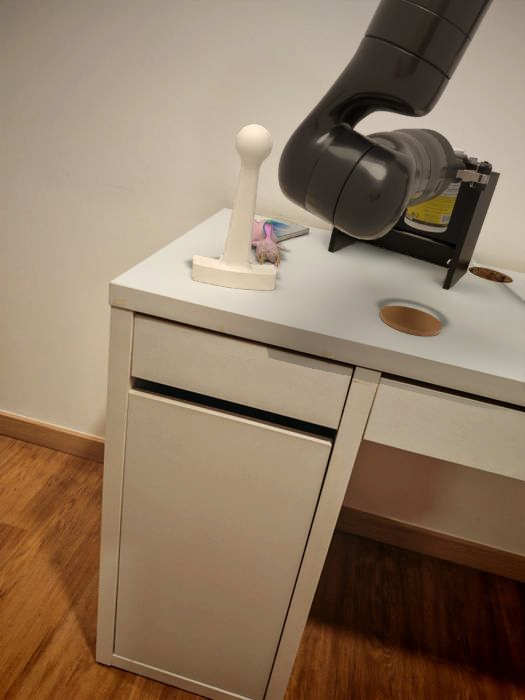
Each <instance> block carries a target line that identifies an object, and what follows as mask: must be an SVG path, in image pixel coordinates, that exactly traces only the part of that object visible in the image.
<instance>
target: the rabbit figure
mask: <svg viewBox="0 0 525 700" xmlns="http://www.w3.org/2000/svg"><path fill="white" fill-rule="evenodd" d="M270 220H271V219H269V218H268V219H260V220H259V221H258V220H257V219H256V218H254V225H253V234H252V244H251V246H254V247H255V248H256V249H255V257H256V260H258V263H259V265H262V263H264V264H266V262H265V261H266V260H267V261H269V262H270V263H274V264H273V265H276V268H278V267H279V266H281V261H280V251H279V249H280V250H282V251H285V250H287V249H286V248H287V247H286V246H283V245H281V244H279V243H278V242H279V241H278V238H277V237H276V235H275V233H274V231H273V226H272V223H271V221H270ZM258 222H260V223H258ZM278 265H279V266H278Z"/></svg>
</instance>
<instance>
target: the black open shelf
mask: <svg viewBox="0 0 525 700" xmlns="http://www.w3.org/2000/svg"><path fill="white" fill-rule="evenodd" d="M500 176H501V173H500V172H497V171H493V170H492V171H491V174H490V177H489V180H488V183H487V186H486V189H485V191H481V192H479V191H476V189H474V187H470V183H471V181H467V182H464V181H461V184H460V187H459V191H458V194H457V197H456V200H455V204H454V207H453V210H452V213H451V217H450V220H449V223H448V226H447V229H446V231H444V232H430V231H424V230H420V229H417V228H414V227H412V226H410V225H408V224H407V223H406V222H405V215H406V211H407V208H406V209H405V211H404V212H403V214H402V216H401V217H400V219H399V220H398V222H397V223H396V224H395V226H394V227H393V228H392V229H391V230H390V231H389V232H388V233H386V234H385V235H384V236H382V237H380V238H377V239H372V240H365V239H359V238H355V237H353V236H350V235H348V234H346V233H344V232H343V231H341V230H339V229H337V228H336V227H334V226H332V230H331V235H330V239H329V243H328V248H327V249H328V250H327V252H330V253H335V252H337V251H339V250H342V249H345V248H346V247H348V246H351V245H353V244H355V243H357V242H361V243H365V244H367V245H370V246H374V247H377V248H380V249H384V250H387V251H391V252H392V253H393V252H394V253H397V254H400V255H403V256H407V257H410V258H412V259H416V260H419V261H422V262H425V263H429V264H433V265H435V266H437V267H442V268H444V269H448V270H447V273H446V276H445V279H444V282H443V284H442V289H444V290H447V291H448V290H449V291H450V289H451V288H452V287H453V286H454V285H456V284H457V282H458V281H459V280H460V279H462V278H463V277H464V276H465V275H466V274H467V273H468V269H469V266H470V265H471V261H472V258H473V255H474V252H475V249H476V246H477V244H478V240H479V237H480V234H481V231H482V228H483V226H484V222H485V220H486V218H487V214H488V211H489V208H490V205H491V202H492V199H493V197H494V193H495V191H496V187H497V185H498V182H499V179H500Z"/></svg>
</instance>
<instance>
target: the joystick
mask: <svg viewBox="0 0 525 700" xmlns="http://www.w3.org/2000/svg"><path fill="white" fill-rule="evenodd" d="M273 145H274V144H273V138H272V135H271V133H270V132H269V130H268V129H267V128H265V127H264V126H262V125H261V124H256V123H252V124H248V125H245V126H243V127H242V128H241V129H240V130H239V131H238V133H237V136H236V138H235V149H236V152H237V154H238V156H239V158H240V163H241V164H240V171H239V176H238V181H237V186H236V190H235V196H234V199H233V200H234V201H233V206H232V210H231V215H230V221H229V225H228V230H227V236H226V241H225V245H224V251H223V253H221V254H220V255H219V258H212V257H206V256H203V255H199V254H198V255H197V254H195V255H193V258H192V266H191V275H190V276H191V277H190V279H191V280H192V281H195V282H200V283H203V284H207V285H211V286H212V285H213V286H218V287H225V288H231V289H239V290H250V291H274V290H275V286H276V281H277V276H278V273H277V267H276V266H274V265H272V264H261V265H260V264H254V263H251V251H252V245H251V244H252V234H253V225H254V219H255V214H256V205H257V197H258V186H259V177H260V169H261V166H262V164H263V163H264V162H265V161H266V160H267V159H268V157H270V155H271V153H272V150H273Z"/></svg>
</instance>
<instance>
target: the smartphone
mask: <svg viewBox="0 0 525 700" xmlns="http://www.w3.org/2000/svg"><path fill="white" fill-rule="evenodd" d="M269 220H270V221H271V223H272V226H273V231H274V233H275V235H276V237H277V238H278V242H280V241H284V240H287V239H291V238H294V237H299V236H302V235H305V234H308V233H310V230H311V229H310V228H309V227H307V226H304V225H301V224H298V223H296V222H293V221H291V220H287V219H284V218H282V217H276V218H270V219H269ZM257 222H258V223H260V221H257Z"/></svg>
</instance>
